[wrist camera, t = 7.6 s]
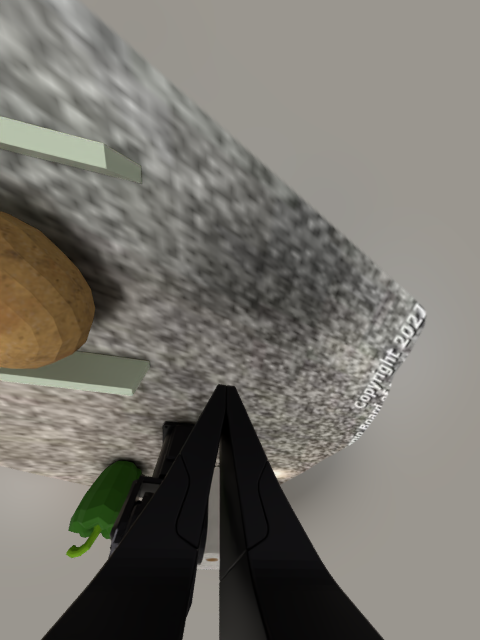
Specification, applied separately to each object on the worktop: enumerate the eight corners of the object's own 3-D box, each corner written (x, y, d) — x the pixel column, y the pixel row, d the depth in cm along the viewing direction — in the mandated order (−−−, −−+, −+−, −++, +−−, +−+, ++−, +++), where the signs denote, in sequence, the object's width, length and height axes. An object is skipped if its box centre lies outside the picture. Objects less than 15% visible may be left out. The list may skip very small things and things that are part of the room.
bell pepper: (151, 458, 31) (118, 550, 23) (148, 478, 35) (118, 564, 26) (99, 452, 30) (43, 546, 21) (102, 474, 34) (54, 562, 25)
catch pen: (149, 367, 21) (127, 404, 17) (-3, 347, 19) (-73, 383, 15) (140, 166, 12) (89, 134, 8) (-140, 94, 11) (-406, 2, 6)
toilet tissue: (255, 474, 35) (261, 558, 26) (222, 495, 40) (218, 573, 31) (208, 460, 32) (197, 549, 23) (178, 484, 37) (160, 567, 28)
